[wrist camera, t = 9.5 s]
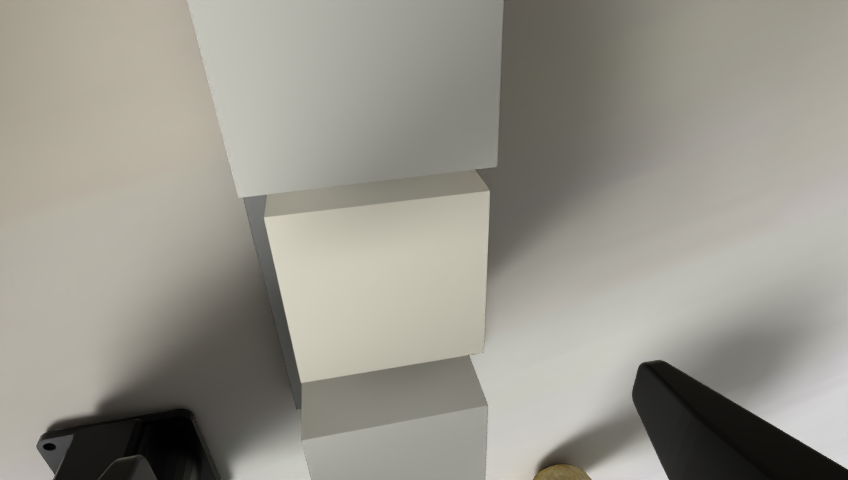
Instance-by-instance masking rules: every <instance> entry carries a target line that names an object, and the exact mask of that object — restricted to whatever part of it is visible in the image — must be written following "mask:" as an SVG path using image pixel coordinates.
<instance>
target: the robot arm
mask: <svg viewBox="0 0 848 480" xmlns="http://www.w3.org/2000/svg"><path fill="white" fill-rule="evenodd" d="M632 398H633V402H634V405H635V407H636V409H637V412H638V414H639V416H640V418H641V420H642V423H643V425H644V427H645V429H646V431H647V434H648V436H649V438H650V440H651V442H652V445H653V447H654V449H655V451H656V453H657V455H658V458H659V460H660V462H661V464H662V466H663V468H664V470H665V473H666V475H667V477H668V479H669V480H848V469H846V468H844V467H843V466H841V465H839V464H838V463H836V462H834V461H833V460H831V459H829V458H827V457H826V456H824V455H822V454H821V453H819V452H817V451H816V450H814V449H812V448H811V447H809V446H807V445H805V444H804V443H802V442H800V441H799V440H797V439H795V438H794V437H792V436H790V435H789V434H787V433H785V432H783V431H782V430H780V429H778V428H777V427H775V426H773V425H772V424H770V423H768V422H767V421H765V420H763V419H761V418H760V417H758V416H756V415H755V414H753V413H751V412H750V411H748V410H746V409H745V408H743V407H741V406H739V405H738V404H736V403H734V402H733V401H731V400H729V399H728V398H726V397H724V396H723V395H721V394H719V393H717V392H716V391H714V390H712V389H711V388H709V387H707V386H706V385H704V384H702V383H701V382H699V381H697V380H695V379H694V378H692V377H690V376H689V375H687V374H685V373H684V372H682V371H680V370H679V369H677V368H675V367H673V366H672V365H670V364H668V363H667V362H665V361H662V360H655V361H649V362H644V363H641V365H640V366H639V367H638V371H637V375H636V379H635V383H634V386H633V391H632ZM36 447H37V449H38V451H39V452H40V454H41V455H42V457H43V458H44V460H45V461H46V462H47V464H48V465H49V467H50V468H51V470H52V471H53V473H54V474H55V476H54V478H53V480H221V479H220V477H219V475H218V472H217V470H216V467H215V465H214V462H213V460H212V458H211V455H210V453H209V450H208V448H207V446H206V443H205V441H204V438H203V436H202V433H201V431H200V429H199V426H198V424H197V421H196V419H195V417H194V414H193V413H192V412H191V411H189V410H186V409H178V410H173V411H167V412H161V413H155V414H150V415H144V416H138V417H132V418H127V419H121V420H115V421H109V422H103V423H98V424H92V425H86V426H80V427H75V428H69V429H63V430H57V431H52V432H47V433H44V434H43V435H42V436H41V437H40V439H39V441H38V443H37V446H36Z"/></svg>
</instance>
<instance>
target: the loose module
mask: <svg viewBox="0 0 848 480" xmlns="http://www.w3.org/2000/svg"><path fill="white" fill-rule="evenodd" d="M489 207H490V190H489V188H488V187H487V186H486V184H485V183H484V181H483V180H482V178H481V177H480V175H479V174H478V173H477V171H476V170H468V171H460V172H451V173H443V174H435V175H426V176H418V177H410V178H401V179H393V180H384V181H376V182H368V183H359V184H351V185H343V186H334V187H326V188H317V189H309V190H301V191H292V192H284V193H276V194H267V199H266V206H265V213H264V221H265V225H266V230H267V234H268V239H269V243H270V247H271V252H272V256H273V261H274V265H275V270H276V274H277V279H278V283H279V288H280V292H281V296H282V301H283V305H284V310H285V314H286V319H287V323H288V328H289V332H290V336H291V341H292V345H293V350H294V354H295V359H296V363H297V368H298V372H299V377H300V381H301V383H304V382H310V381H316V380H322V379H329V378H335V377H341V376H347V375H353V374H359V373H365V372H371V371H377V370H383V369H389V368H395V367H401V366H407V365H413V364H419V363H425V362H431V361H437V360H443V359H449V358H455V357H461V356H467V355H473V354H479V353H484V332H485V307H486V282H487V257H488V232H489Z"/></svg>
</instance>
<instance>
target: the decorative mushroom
mask: <svg viewBox="0 0 848 480" xmlns="http://www.w3.org/2000/svg"><path fill="white" fill-rule="evenodd" d="M533 480H591V478H590V477H589V476H588V475H587V474H586V473H585V472H584V471H583V470H582V469H580V468H579V467H576V466H573V465H567V464H557V465H553V466H550V467H548V468H546V469H544V470H541V471H540V472H539V473H538V474H536V476H535V477H534V479H533Z"/></svg>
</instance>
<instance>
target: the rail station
mask: <svg viewBox="0 0 848 480" xmlns="http://www.w3.org/2000/svg"><path fill="white" fill-rule="evenodd" d="M187 2H188V6H189V10H190V14H191V17H192V21H193V25H194V29H195V33H196V37H197V41H198V44H199V48H200V52H201V56H202V60H203V64H204V68H205V71H206V75H207V79H208V83H209V87H210V91H211V95H212V98H213V102H214V106H215V110H216V114H217V118H218V122H219V125H220V129H221V133H222V137H223V141H224V145H225V149H226V152H227V156H228V160H229V164H230V168H231V172H232V176H233V180H234V183H235V187H236V191H237V195H238V198H242V197H243V200H244V204H245V208H246V212H247V216H248V220H249V224H250V228H251V231H252V235H253V239H254V243H255V247H256V251H257V255H258V259H259V263H260V267H261V271H262V275H263V279H264V283H265V287H266V291H267V295H268V298H269V302H270V306H271V310H272V314H273V318H274V322H275V326H276V330H277V334H278V338H279V342H280V346H281V350H282V354H283V358H284V362H285V366H286V369H287V373H288V377H289V381H290V385H291V389H292V393H293V397H294V401H295V405H296V409H301V442H302V446H303V450H304V454H305V458H306V461H307V465H308V469H309V473H310V477H311V480H485V476H486V450H487V423H488V404H487V401H486V398H485V396H484V393H483V391H482V388H481V385H480V383H479V380H478V377H477V375H476V372H475V370H474V367H473V364H472V362H471V359H470V356H469V355H467V356H461V357H455V358H449V359H443V360H437V361H431V362H425V363H419V364H413V365H407V366H401V367H395V368H389V369H383V370H377V371H371V372H365V373H359V374H353V375H347V376H341V377H335V378H329V379H322V380H316V381H310V382H304V383H301V381H300V377H299V372H298V368H297V363H296V359H295V354H294V350H293V345H292V341H291V336H290V332H289V328H288V323H287V319H286V314H285V310H284V305H283V301H282V296H281V292H280V288H279V283H278V279H277V274H276V270H275V265H274V261H273V256H272V252H271V247H270V243H269V239H268V234H267V230H266V225H265V221H264V213H265V206H266V199H267V194H276V193H284V192H292V191H301V190H309V189H317V188H326V187H334V186H343V185H351V184H359V183H368V182H376V181H384V180H393V179H401V178H410V177H418V176H426V175H435V174H443V173H451V172H460V171H468V170H477V169H485V168H493V167H497V160H498V134H499V108H500V81H501V55H502V29H503V2H504V0H187Z"/></svg>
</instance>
